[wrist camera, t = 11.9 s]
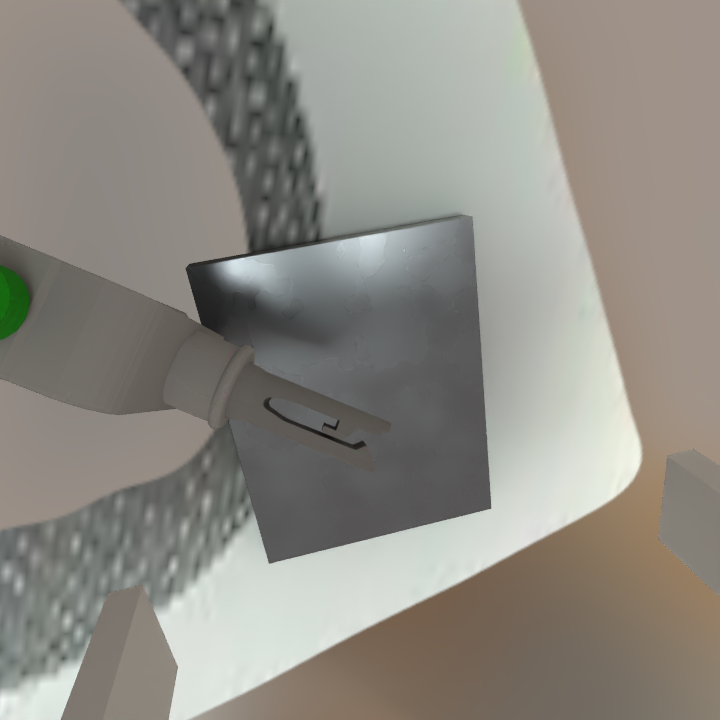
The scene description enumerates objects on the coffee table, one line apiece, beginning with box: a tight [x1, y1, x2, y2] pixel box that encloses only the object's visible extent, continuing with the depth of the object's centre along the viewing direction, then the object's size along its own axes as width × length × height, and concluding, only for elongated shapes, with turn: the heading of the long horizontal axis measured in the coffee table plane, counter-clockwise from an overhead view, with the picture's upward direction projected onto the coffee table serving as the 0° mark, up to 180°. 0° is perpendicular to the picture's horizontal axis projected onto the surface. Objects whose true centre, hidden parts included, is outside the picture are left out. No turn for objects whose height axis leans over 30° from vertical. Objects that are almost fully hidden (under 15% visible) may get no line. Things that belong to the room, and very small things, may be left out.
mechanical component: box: [0, 235, 391, 472], centre depth 14 cm, size 3×10×10 cm
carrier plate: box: [186, 215, 491, 563], centre depth 22 cm, size 14×11×1 cm
